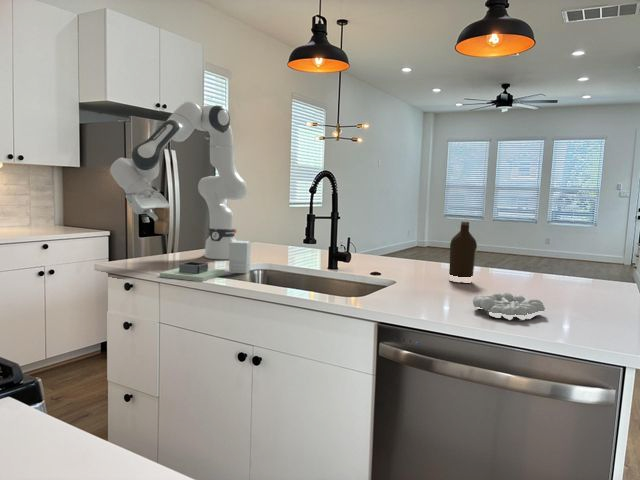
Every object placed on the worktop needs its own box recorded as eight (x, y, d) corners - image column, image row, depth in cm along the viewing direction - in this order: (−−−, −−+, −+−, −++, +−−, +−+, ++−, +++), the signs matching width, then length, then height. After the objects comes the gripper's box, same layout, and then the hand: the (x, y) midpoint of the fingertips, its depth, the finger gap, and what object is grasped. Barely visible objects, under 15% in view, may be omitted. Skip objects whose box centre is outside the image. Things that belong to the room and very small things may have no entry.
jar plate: (185, 269, 203) (185, 265, 203) (225, 273, 198) (225, 270, 198) (159, 276, 186) (159, 272, 186) (202, 281, 181) (203, 277, 181)
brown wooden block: (160, 232, 198) (160, 207, 197) (169, 233, 197) (169, 207, 196) (154, 233, 194) (154, 207, 193) (163, 233, 193) (163, 208, 192)
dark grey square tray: (189, 268, 197) (189, 261, 197) (208, 270, 195) (209, 263, 194) (177, 272, 189) (178, 264, 189) (197, 274, 187) (198, 266, 186)
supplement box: (250, 270, 208) (251, 241, 206) (246, 274, 200) (247, 243, 199) (233, 269, 208) (234, 240, 207) (228, 272, 201) (229, 241, 199)
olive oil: (451, 283, 201) (456, 222, 199) (444, 278, 212) (448, 220, 209) (477, 284, 202) (482, 223, 199) (468, 279, 212) (473, 221, 210)
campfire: (475, 302, 169) (477, 285, 169) (542, 311, 161) (544, 293, 161) (468, 318, 149) (470, 299, 148) (544, 329, 141) (546, 309, 140)
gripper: (128, 187, 185) (150, 215, 184) (160, 187, 205) (180, 213, 204) (118, 199, 187) (140, 226, 186) (150, 198, 207) (170, 223, 205)
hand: (161, 219), depth 195 cm, fingers closed on brown wooden block, 4 cm apart
